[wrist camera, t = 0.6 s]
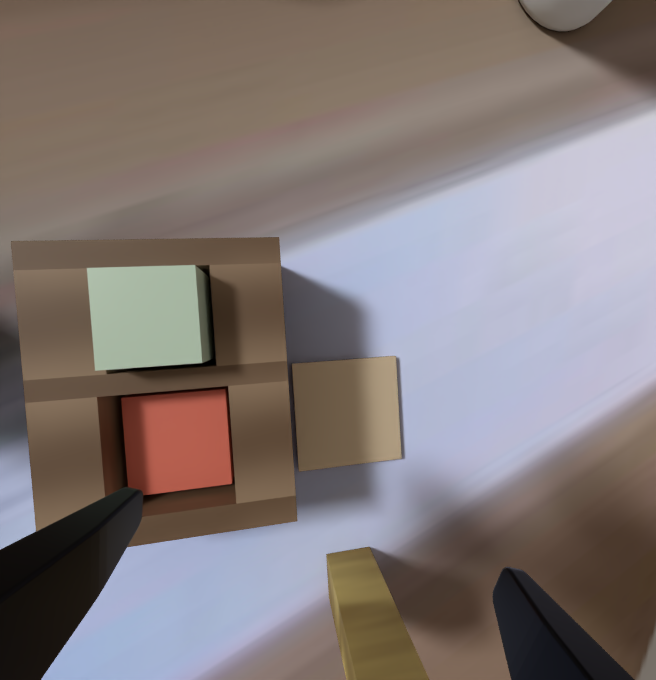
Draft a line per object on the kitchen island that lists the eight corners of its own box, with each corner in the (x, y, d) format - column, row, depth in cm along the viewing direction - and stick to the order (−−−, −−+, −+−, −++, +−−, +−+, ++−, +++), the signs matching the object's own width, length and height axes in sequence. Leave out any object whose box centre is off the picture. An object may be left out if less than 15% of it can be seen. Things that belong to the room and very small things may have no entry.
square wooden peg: (371, 589, 23) (434, 752, 14) (329, 597, 22) (365, 771, 13) (369, 546, 23) (431, 683, 14) (326, 554, 22) (361, 700, 13)
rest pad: (399, 456, 23) (401, 458, 23) (298, 469, 22) (299, 471, 21) (393, 355, 23) (395, 356, 22) (291, 363, 22) (292, 364, 21)
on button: (215, 357, 17) (202, 362, 14) (128, 363, 16) (95, 370, 13) (209, 277, 16) (195, 264, 13) (121, 280, 16) (86, 267, 13)
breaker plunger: (236, 466, 19) (231, 483, 17) (146, 477, 18) (128, 497, 16) (230, 382, 19) (225, 389, 17) (139, 390, 18) (120, 398, 16)
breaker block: (290, 470, 22) (297, 521, 16) (108, 493, 20) (38, 560, 14) (277, 264, 21) (278, 237, 15) (90, 269, 20) (10, 241, 14)
